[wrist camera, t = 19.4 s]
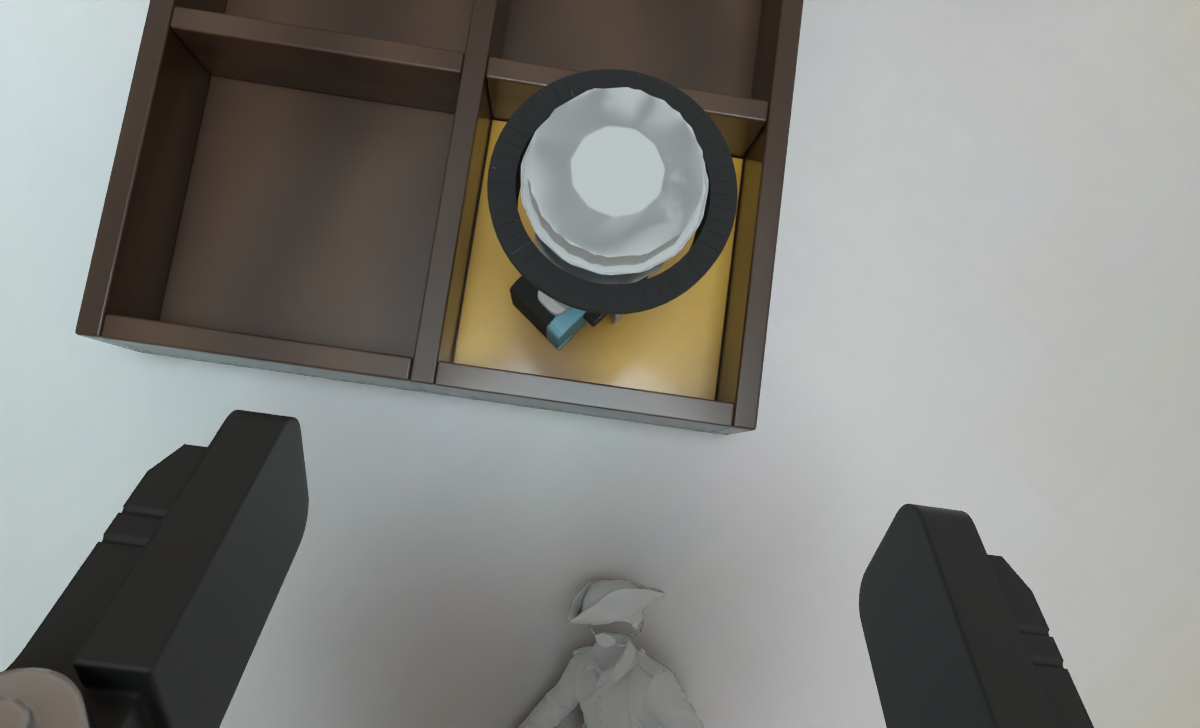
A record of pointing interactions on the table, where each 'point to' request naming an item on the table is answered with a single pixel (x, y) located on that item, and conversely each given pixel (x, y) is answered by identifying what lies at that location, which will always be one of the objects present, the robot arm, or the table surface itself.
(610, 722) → the soldier figure
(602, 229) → the push button
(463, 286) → the grid
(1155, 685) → the table surface
